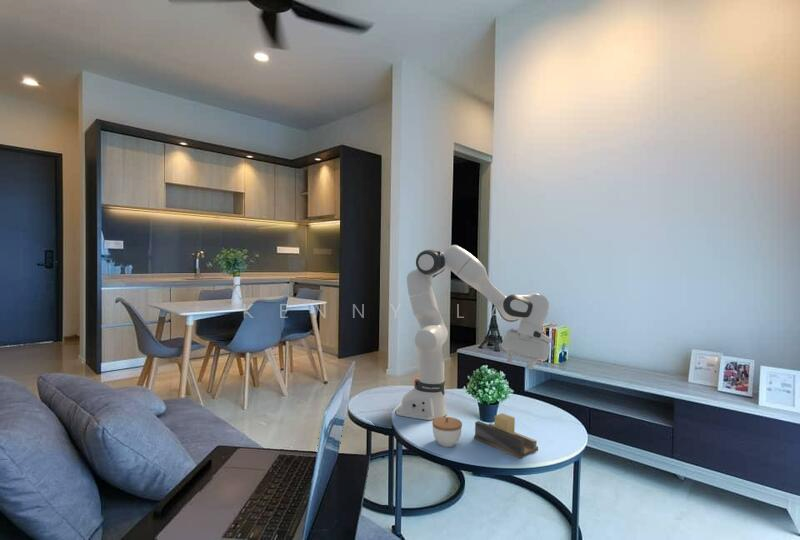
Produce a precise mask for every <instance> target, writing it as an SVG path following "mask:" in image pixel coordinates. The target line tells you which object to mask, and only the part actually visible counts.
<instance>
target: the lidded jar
mask: <svg viewBox="0 0 800 540" xmlns="http://www.w3.org/2000/svg"><path fill="white" fill-rule="evenodd" d="M431 424H432V433H433V438H434V439H435V440H436V442H437V443H438V445H440V446H442V447H445V448H447V447H448V448H449V447H451V448H452V447H454V446H455V445H456V444H457V443H458V442H459V440H460V438H461V436H462V430H463V429H462V427H463V422H462V421H461V420H460V419H458V418H456V417H450V416H443V417H439V418H435V419H433V420H432V423H431Z"/></svg>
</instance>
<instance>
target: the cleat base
mask: <svg viewBox="0 0 800 540" xmlns="http://www.w3.org/2000/svg"><path fill="white" fill-rule="evenodd" d="M474 423H475V424H474V425H475V426H474V435H473V439H475V440H476V441H480V442H482V443H484V444H486V445H488V446H489V447H490V446H491V447H493V448H495V449H497V450H500V451H502V452H503V453H506V454H508V455H511V456H513V457H515V458H517V459H522V458H524V457H526V456H528V455H530V454H532V453H534V452H535V451H538V450H539V446H537V440H536V439H534V438H531V437H528V436H526V435H523V434H521V433H519V432H516V431H514V435H513V434H511V433H508V432H505V431H503V430H500V429H498V428H495V427H494V423H493V422H490V423H489V422H488V423H485V422H482V421H480V420H478V421H475V422H474Z"/></svg>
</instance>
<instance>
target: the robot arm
mask: <svg viewBox="0 0 800 540" xmlns="http://www.w3.org/2000/svg"><path fill="white" fill-rule="evenodd" d="M415 267H416V269H413V270H411V271H410V272H409V273H407V276H406V284H407V285H406V286H407V293H408V296H409V300H410V305H411V309H412V313H413V315H414V316H415V318H416V320H417V322H418V324H419V326H420V328H419V330H418V331H417V332H416V335H415V337H414V344H415V346H416V350H417V357H418V364H419V365H418V367H419V369H418V377H415V378H414V384H413V385H414V387H413V388H412V389H411V390H409V391H408V392H407V393H405V394H404V395H403V397H402V400H401V403H400V404H398V405H397V407H396V409H395V413H396V415H397V414H398V415H397V416H399V417H408V418H413V419H420V420H424V421H425V420H426V421H433V420H434V419H436V418H439V417H446V416H447V415H448V410H447V405H446V399H445V394H446V381H445V361H444V357H443V356H444V355H443V345H444V344H445V343H446V342H447V339H448V336H449V335H448V334H449V331H448V328H447V327H446V324H445V322H444V320H443V317H442V315H441V312H440V311H439V310H440V309H439V307H438V304H437V299H436V296H435V293H434V288H433V284H432V278H435V277H436V276H438V275H439V274H441V273H443V272H444V270H449V271H451V272H452V273H453V274H454V275H455V276H457V277H458V278H459V279H460V280H461V281H463V282H464V283H466V284H467V285H469V286H470V287H472V288H473V289H474V290H477V292H479V293H480V294H481V295H483V297H485V299H487V301H488V302H490V303H491V304H492V305H493V306H494V307H495V308H496V310H497V312H498V314H499V316H500V317H501V318H502V320H504V321H505V322H510V323H512V322H513V323H514V322H517V321H518V320H520V323H519V326H518V329H514V328H510V329H508V330H506V334H505V335H504V337H503V340H502V343H501V345H500V346H501V349H502V350H504V351H505V350H506V356H507V359H506V362H507V363H509V364H512V363H513V361H514V358H512V355H513V354H518V355H522V356H525V357H529V358H531V359H530V360H531V361H530V362H529V363H527V364H526V369H527V370H531V371H532V370H533V367H534V366H535V365H536V364H537V363H538V361H542V362H546V361H547V360H548V358H549V354H550V351H551V345H550V344H551V343H552V338H551V337H549V336H548V335H546V334H545V333H544V332H543V327H544V322H545V321H546V319H547V316H548V311H549V308H550V307H549V306H550V301H549V299H547V297H545V296H544V295H543V294H541V293H537V292H531V293H528V294H509V295H507V296H506V295H505V294H504V293H503V292H502V291H501V290H499V289H498V288H497V287H496V286H495V285H494V284H493V283H492V282H491V280H490V279H489V276H488V274H487V270H486V269H487V268H486V267H485V266H484V265H483V264H482V262H481V261H480V260H479V259H478V258H476V256H474V255H473V254H472V253H471V252H469V251H467V249H465V248H463V247H461V246H459V245H458V244H452V245H450V246H448V247H447V248H446V249H445V250H444V251H443V252H442V251H440V250H437V249H425V250H422V251H421V252H420V253H418V255H417V256H416V259H415Z"/></svg>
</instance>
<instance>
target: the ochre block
mask: <svg viewBox="0 0 800 540" xmlns="http://www.w3.org/2000/svg"><path fill="white" fill-rule="evenodd" d="M515 418H516V417H514V416H511V415H508V414H505V413H500V414H497V415H494V423H493V424H494V427H495V428H498V429H500V430H503V431H505V432H508V433H511V434H513V435H514V432H515V427H516V426H515V423H516V422H515Z"/></svg>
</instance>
